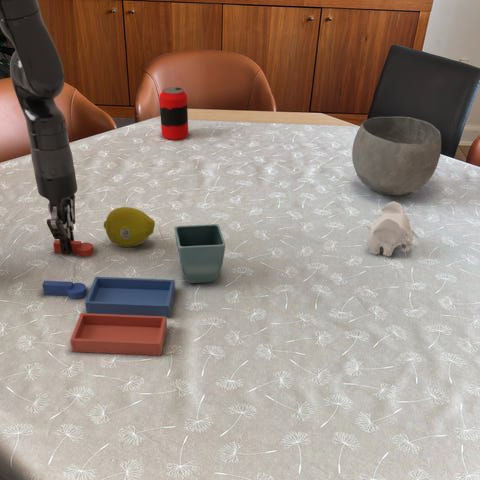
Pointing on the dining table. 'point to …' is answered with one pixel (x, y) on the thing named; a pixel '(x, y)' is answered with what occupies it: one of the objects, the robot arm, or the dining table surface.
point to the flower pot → (200, 252)
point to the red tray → (119, 334)
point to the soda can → (174, 113)
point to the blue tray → (131, 296)
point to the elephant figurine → (390, 230)
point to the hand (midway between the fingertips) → (68, 250)
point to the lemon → (128, 226)
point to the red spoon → (76, 248)
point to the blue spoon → (65, 289)
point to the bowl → (396, 154)
